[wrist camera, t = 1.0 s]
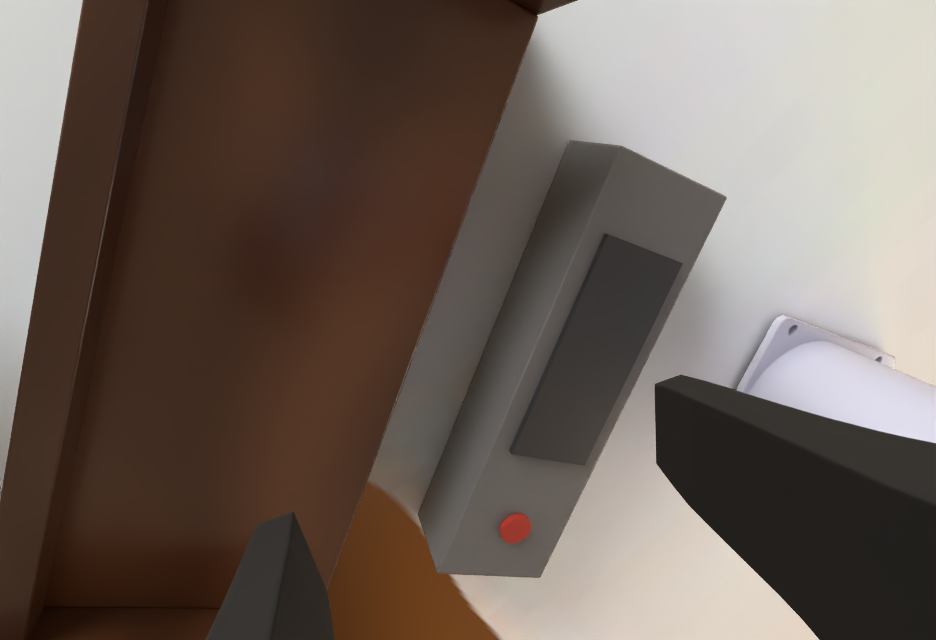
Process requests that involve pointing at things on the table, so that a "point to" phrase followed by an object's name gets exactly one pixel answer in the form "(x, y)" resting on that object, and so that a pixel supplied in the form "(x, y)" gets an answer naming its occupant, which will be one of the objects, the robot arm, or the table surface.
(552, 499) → the remote
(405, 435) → the table surface
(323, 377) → the wooden tray
